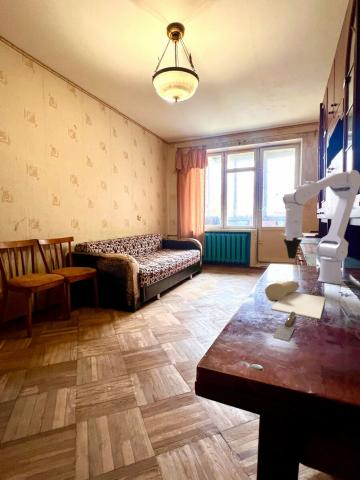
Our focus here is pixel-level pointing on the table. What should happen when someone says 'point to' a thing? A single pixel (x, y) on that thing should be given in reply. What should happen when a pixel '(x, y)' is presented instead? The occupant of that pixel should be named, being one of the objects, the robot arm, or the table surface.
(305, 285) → the table surface
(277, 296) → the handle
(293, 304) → the felt mat
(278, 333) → the turner
